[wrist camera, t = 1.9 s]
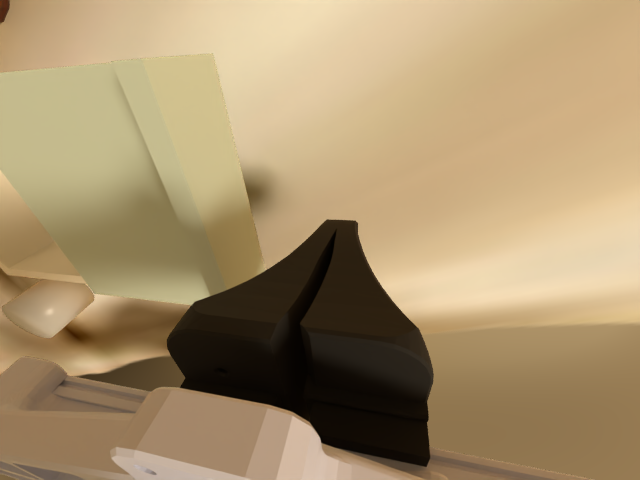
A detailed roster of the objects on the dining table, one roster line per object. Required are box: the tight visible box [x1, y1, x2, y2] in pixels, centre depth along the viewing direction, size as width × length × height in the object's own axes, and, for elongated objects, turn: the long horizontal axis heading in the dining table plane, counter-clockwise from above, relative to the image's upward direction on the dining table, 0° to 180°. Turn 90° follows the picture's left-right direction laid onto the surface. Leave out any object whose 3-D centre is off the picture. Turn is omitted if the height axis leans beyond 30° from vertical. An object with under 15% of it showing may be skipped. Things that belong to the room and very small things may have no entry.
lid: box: [0, 54, 266, 305], centre depth 14 cm, size 14×14×4 cm
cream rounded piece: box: [2, 279, 94, 338], centre depth 30 cm, size 5×5×5 cm
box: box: [0, 170, 87, 284], centre depth 20 cm, size 14×14×5 cm
